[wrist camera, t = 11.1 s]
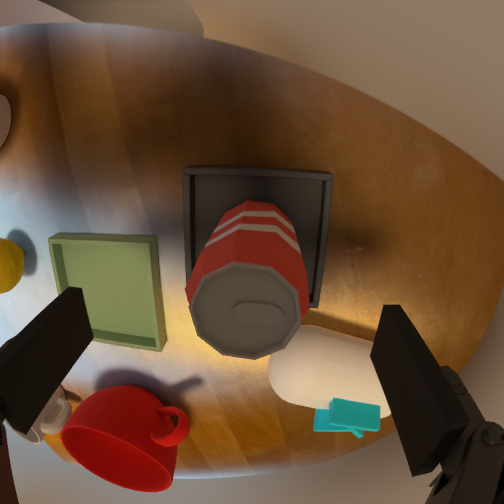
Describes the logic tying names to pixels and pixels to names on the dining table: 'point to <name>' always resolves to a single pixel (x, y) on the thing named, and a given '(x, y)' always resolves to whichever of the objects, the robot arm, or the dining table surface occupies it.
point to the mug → (330, 379)
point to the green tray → (114, 285)
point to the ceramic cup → (126, 437)
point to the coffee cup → (4, 118)
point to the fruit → (10, 265)
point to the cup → (49, 418)
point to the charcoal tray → (263, 190)
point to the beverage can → (249, 283)
